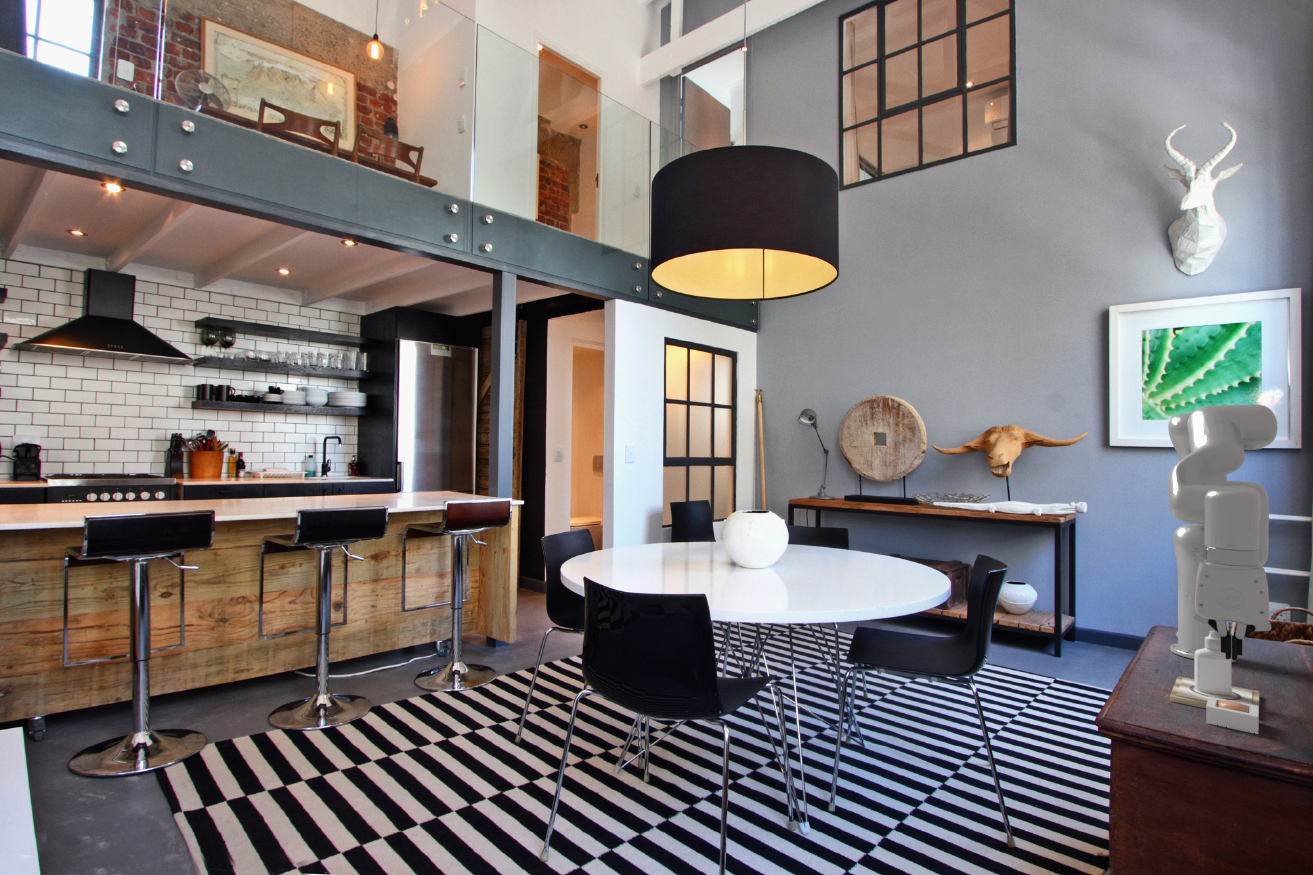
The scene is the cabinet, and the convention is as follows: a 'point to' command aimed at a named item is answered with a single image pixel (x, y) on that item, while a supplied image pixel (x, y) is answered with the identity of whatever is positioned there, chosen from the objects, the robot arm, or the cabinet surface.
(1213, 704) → the button housing
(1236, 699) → the cream flat rectangular panel
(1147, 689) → the cabinet surface
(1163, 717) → the cabinet surface
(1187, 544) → the robot arm
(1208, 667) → the eye dropper bottle
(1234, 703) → the button
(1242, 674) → the cabinet surface
